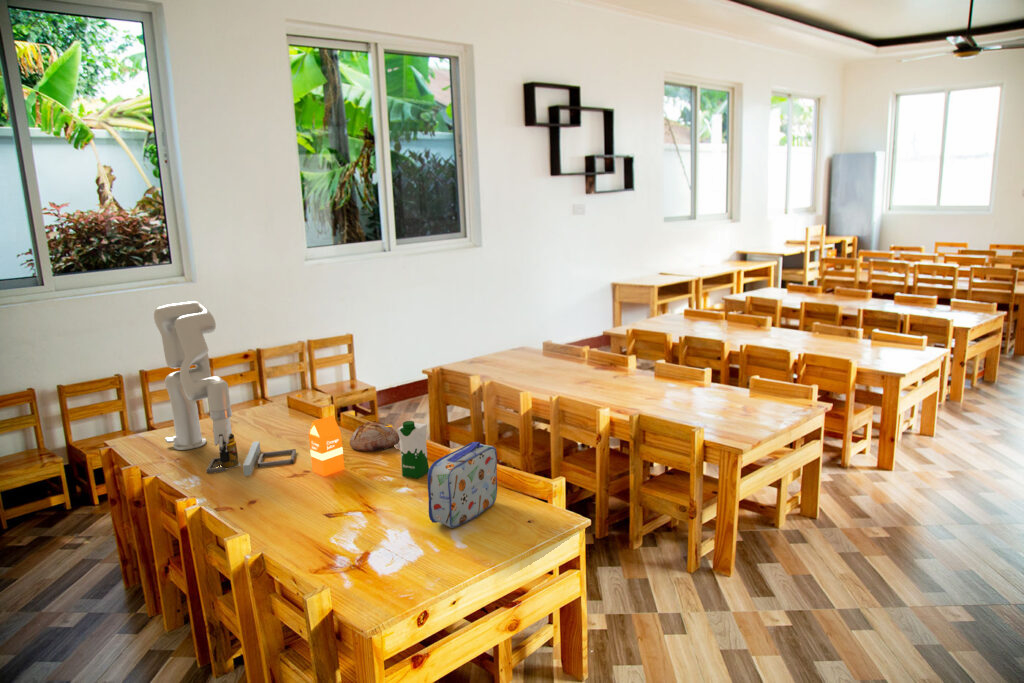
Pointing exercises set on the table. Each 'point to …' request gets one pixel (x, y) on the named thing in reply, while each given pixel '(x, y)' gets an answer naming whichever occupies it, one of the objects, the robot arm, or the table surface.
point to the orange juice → (326, 446)
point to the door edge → (251, 458)
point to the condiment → (231, 454)
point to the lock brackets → (260, 463)
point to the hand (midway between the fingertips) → (227, 458)
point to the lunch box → (462, 484)
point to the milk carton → (413, 449)
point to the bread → (374, 437)
